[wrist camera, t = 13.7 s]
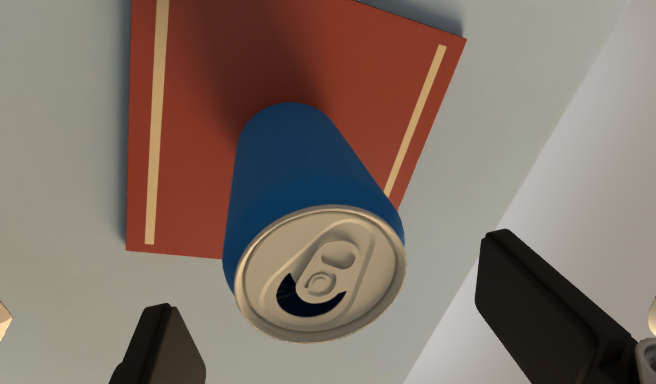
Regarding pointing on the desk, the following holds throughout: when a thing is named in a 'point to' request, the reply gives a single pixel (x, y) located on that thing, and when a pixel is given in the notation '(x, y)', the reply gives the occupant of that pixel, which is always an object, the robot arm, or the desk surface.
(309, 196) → the beverage can
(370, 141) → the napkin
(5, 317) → the table lamp
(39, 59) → the desk surface
